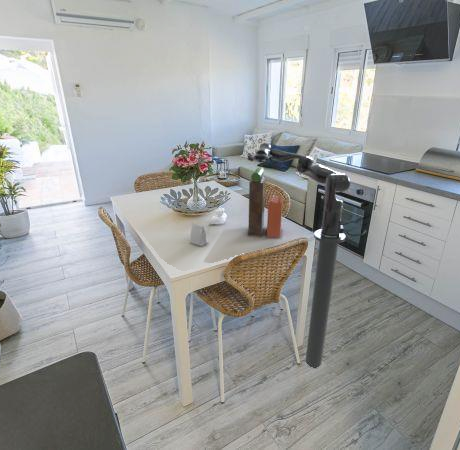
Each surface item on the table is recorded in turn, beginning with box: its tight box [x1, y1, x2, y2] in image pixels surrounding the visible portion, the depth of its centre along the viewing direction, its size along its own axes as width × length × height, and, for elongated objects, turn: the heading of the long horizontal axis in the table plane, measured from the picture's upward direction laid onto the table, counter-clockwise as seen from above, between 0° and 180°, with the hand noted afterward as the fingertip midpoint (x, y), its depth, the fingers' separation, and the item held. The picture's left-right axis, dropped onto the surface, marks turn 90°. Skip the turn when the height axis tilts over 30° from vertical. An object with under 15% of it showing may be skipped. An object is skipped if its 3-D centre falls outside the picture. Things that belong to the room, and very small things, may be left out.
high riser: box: [247, 175, 266, 237], centre depth 169 cm, size 7×12×31 cm, turn 171°
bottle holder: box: [266, 194, 284, 239], centre depth 170 cm, size 7×12×21 cm, turn 171°
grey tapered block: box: [190, 223, 207, 247], centre depth 158 cm, size 4×7×10 cm, turn 58°
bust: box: [209, 207, 228, 226], centre depth 183 cm, size 12×8×11 cm
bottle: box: [250, 166, 265, 182], centre depth 167 cm, size 5×21×5 cm, turn 170°
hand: (259, 159), depth 183 cm, fingers open, 8 cm apart
